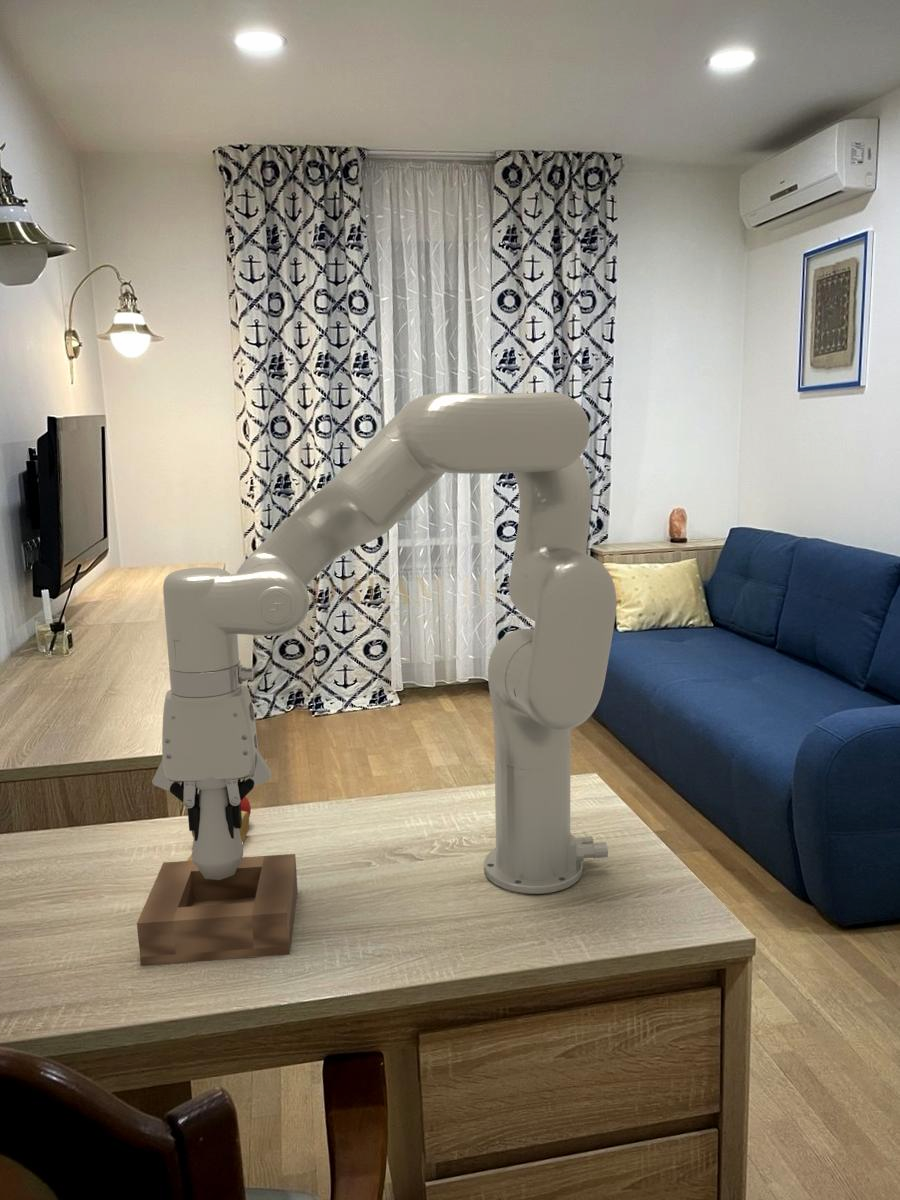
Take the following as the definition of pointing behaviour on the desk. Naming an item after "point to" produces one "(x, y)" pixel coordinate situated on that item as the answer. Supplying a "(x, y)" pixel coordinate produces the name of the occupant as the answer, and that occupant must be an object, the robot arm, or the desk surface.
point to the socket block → (219, 912)
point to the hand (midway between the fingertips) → (216, 833)
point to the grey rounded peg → (215, 833)
